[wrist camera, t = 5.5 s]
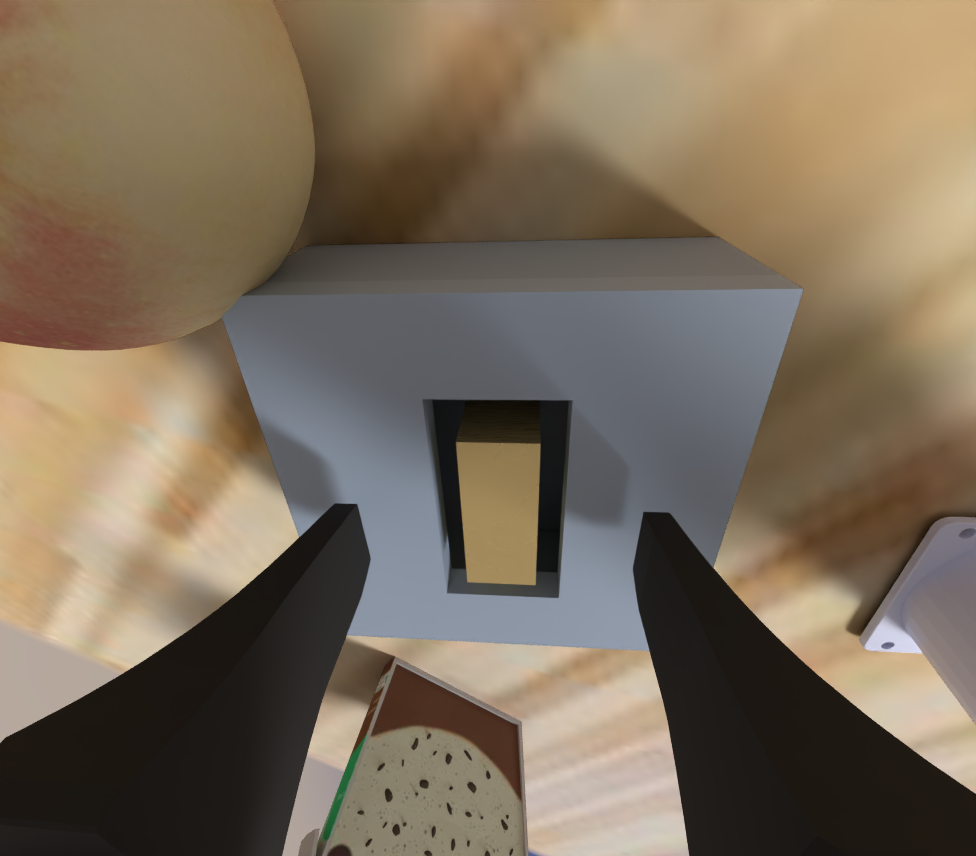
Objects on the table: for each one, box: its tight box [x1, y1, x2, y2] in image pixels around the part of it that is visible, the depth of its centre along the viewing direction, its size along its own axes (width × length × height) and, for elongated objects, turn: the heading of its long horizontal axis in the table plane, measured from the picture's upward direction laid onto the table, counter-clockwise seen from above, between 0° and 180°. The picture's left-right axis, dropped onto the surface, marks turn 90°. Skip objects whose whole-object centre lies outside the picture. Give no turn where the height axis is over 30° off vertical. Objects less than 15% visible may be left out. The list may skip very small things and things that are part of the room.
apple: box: [0, 0, 315, 350], centre depth 9 cm, size 9×9×8 cm
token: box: [456, 400, 541, 585], centre depth 15 cm, size 2×5×5 cm, turn 2°
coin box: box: [222, 237, 804, 651], centre depth 15 cm, size 12×12×5 cm
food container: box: [298, 657, 528, 856], centre depth 25 cm, size 12×6×10 cm, turn 50°
